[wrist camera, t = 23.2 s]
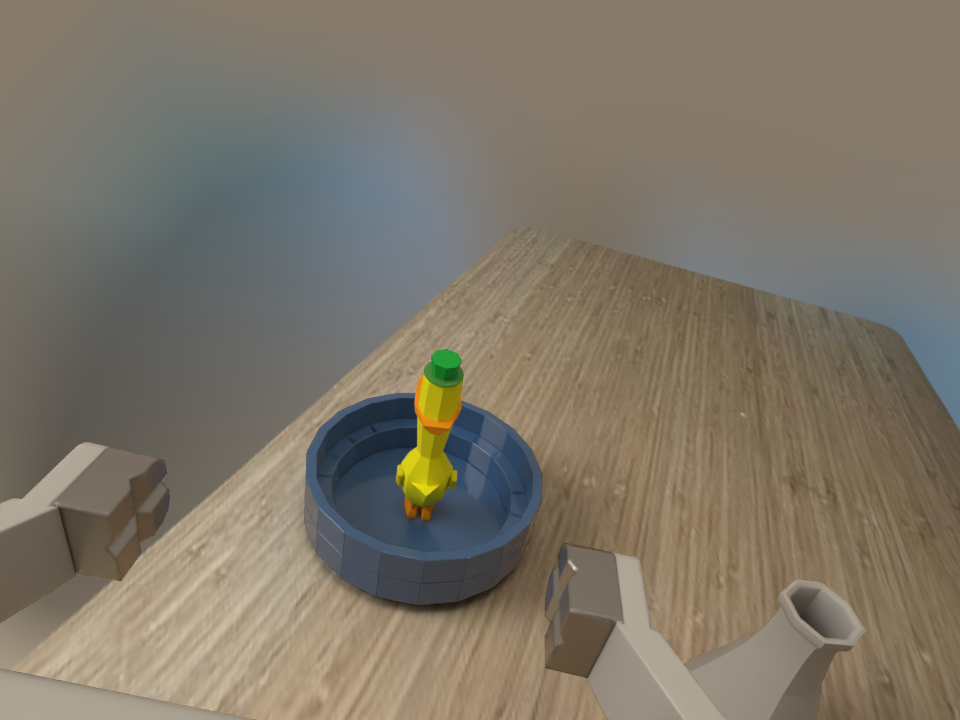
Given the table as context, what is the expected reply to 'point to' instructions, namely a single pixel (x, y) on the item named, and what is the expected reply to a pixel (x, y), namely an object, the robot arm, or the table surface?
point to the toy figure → (432, 435)
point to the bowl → (415, 542)
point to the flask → (781, 657)
